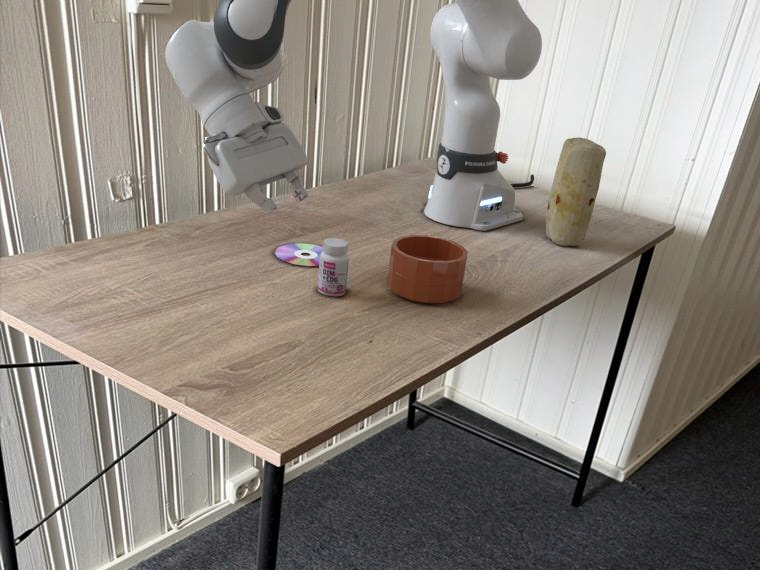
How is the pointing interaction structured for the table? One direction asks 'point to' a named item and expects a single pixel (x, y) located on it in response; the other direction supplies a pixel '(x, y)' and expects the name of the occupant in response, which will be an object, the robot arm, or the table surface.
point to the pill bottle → (333, 267)
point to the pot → (426, 268)
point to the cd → (294, 251)
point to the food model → (574, 191)
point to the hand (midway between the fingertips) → (288, 205)
